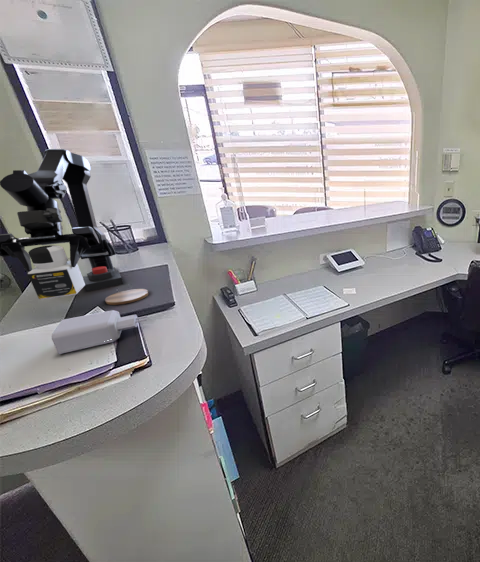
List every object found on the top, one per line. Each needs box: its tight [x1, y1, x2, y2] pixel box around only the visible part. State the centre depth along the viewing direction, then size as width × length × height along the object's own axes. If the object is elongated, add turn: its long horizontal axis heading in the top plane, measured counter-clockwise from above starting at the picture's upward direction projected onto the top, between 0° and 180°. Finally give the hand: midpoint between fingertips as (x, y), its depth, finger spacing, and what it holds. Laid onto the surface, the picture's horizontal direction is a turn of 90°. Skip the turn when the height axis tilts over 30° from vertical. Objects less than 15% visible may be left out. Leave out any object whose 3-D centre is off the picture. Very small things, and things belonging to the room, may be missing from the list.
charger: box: [51, 309, 148, 355], centre depth 69 cm, size 5×9×15 cm
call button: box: [91, 266, 108, 274], centre depth 99 cm, size 4×4×2 cm
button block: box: [82, 269, 124, 292], centre depth 100 cm, size 10×9×4 cm
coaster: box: [104, 288, 150, 306], centre depth 90 cm, size 10×10×1 cm
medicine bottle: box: [27, 244, 85, 300], centre depth 77 cm, size 7×7×12 cm
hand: (51, 269), depth 75 cm, fingers closed on medicine bottle, 7 cm apart
